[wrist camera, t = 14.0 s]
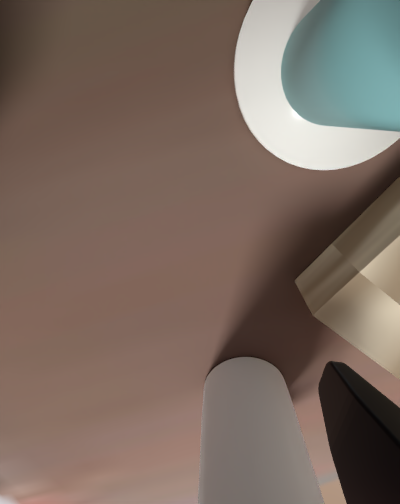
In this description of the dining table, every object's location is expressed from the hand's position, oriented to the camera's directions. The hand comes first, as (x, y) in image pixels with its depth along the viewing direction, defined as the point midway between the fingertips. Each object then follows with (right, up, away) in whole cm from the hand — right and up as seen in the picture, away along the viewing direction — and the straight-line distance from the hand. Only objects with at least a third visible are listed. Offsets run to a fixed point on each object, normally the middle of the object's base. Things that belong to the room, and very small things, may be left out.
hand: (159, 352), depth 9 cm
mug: (+5, -9, +17) cm, 20 cm away
